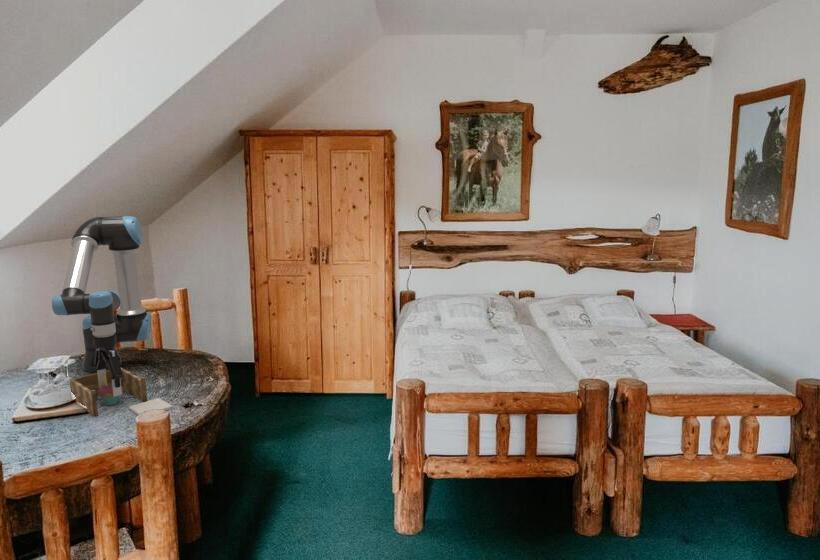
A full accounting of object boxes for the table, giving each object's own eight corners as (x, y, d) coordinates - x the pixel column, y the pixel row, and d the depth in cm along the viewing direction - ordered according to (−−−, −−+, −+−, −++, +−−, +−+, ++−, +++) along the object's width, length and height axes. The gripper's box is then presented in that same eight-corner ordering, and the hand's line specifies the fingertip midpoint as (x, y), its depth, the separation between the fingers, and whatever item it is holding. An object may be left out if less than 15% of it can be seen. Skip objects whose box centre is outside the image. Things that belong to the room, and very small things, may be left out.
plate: (128, 409, 216) (128, 406, 216) (159, 400, 224) (158, 398, 224) (142, 418, 209) (141, 415, 209) (172, 408, 217) (172, 405, 216)
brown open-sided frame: (71, 399, 225) (69, 376, 223) (122, 386, 238) (120, 364, 237) (94, 416, 210) (91, 391, 208) (147, 401, 223) (145, 377, 221)
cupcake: (107, 408, 217) (103, 376, 215) (93, 403, 221) (90, 372, 219) (129, 400, 224) (126, 369, 222) (115, 396, 229) (112, 365, 226)
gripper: (80, 330, 224) (86, 385, 227) (107, 343, 207) (113, 402, 211) (102, 326, 229) (107, 380, 233) (129, 338, 212) (134, 396, 216)
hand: (110, 390), depth 222 cm, fingers open, 13 cm apart
